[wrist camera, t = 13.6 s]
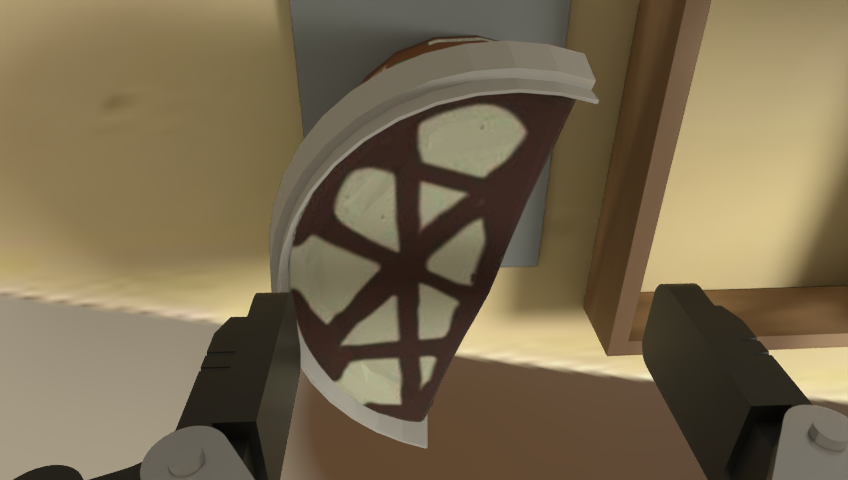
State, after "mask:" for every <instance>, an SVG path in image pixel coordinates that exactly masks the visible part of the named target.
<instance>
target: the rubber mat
mask: <svg viewBox="0 0 848 480" xmlns="http://www.w3.org/2000/svg"><path fill="white" fill-rule="evenodd" d="M570 7H571V0H290V10H291V19H292V28H293V38H294V47H295V57H296V66H297V75H298V85H299V94H300V103H301V113H302V122H303V131H304V139H305V137H306V136H307V135H308V134H309V132H310V131H311V130H312V129H313V127H314V126H315V125H316V124H317V122H318V121H319V120H320V119H321V117H322V116H323V115H324V114H326V113H327V112H328V111H329V110H330V109H331V108H332V107H334V106H335V105H336V104H337V103H338V102H339V101H340V100H341V99H343V98H344V97H345V96H346V95H347V94H348V93H349V92H351V91H352V90H353V89H355V88H357V87H358V86H360V85H361V83H362V82H363V80H364V78H365V77H366V76H367V75H369V74H370V73H371V72H372V71H373V70H375V69H376V68H377V67H378V66H379V65H381V64H382V63H383V62H384V61H386V60H387V59H388V58H389V57H390V56H392V55H393V54H394V53H395V52H397V51H400V50H403V49H405V48H408V47H410V46H413V45H416V44H418V43H421V42H423V41H426V40H429V39H431V38H434V37H451V36H473V35H477V36H481V37H485V38H489V39H493V40H497V41H517V42H529V43H540V44H549V45H553V46H557V47H561V48H565V46H566V38H567V30H568V22H569V15H570ZM551 156H552V151H551V153H550V155H549V158H548V160H547V162H546V164H545V166H544V168H543V170H542V172H541V174H540V177H539V179H538V181H537V183H536V185H535V187H534V189H533V191H532V193H531V196H530V198H529V200H528V202H527V204H526V206H525V209H524V211H523V213H522V216H521V218H520V220H519V223H518V225H517V227H516V229H515V232H514V234H513V236H512V239H511V241H510V243H509V246H508V248H507V250H506V253H505V255H504V258H503V260H502V263H501V265H500V267H532V266H537V265H538V258H539V250H540V242H541V234H542V226H543V218H544V210H545V203H546V195H547V187H548V179H549V171H550V163H551Z"/></svg>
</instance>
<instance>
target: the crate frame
mask: <svg viewBox="0 0 848 480" xmlns="http://www.w3.org/2000/svg"><path fill="white" fill-rule="evenodd" d="M710 4H711V0H640V4H639V10H638V15H637V20H636V26H635V31H634V37H633V42H632V47H631V53H630V58H629V64H628V69H627V74H626V80H625V85H624V91H623V96H622V101H621V107H620V112H619V118H618V123H617V129H616V134H615V139H614V145H613V150H612V156H611V161H610V166H609V172H608V177H607V183H606V188H605V193H604V199H603V204H602V210H601V215H600V220H599V226H598V231H597V237H596V242H595V247H594V253H593V258H592V264H591V269H590V275H589V280H588V285H587V291H586V296H585V302H584V307H583V308H584V310H585V312H586V314H587V316H588V318H589V320H590V322H591V324H592V326H593V328H594V330H595V332H596V334H597V337H598V339H599V341H600V343H601V345H602V347H603V349H604V351H605V353H606V355H607V356H621V355H643V352H642V339H643V334H644V331H645V327H646V323H647V319H648V315H649V312H650V308H651V304H652V300H653V296H654V293H655V292H645V293H640V291H641V287H642V282H643V278H644V274H645V270H646V266H647V262H648V258H649V254H650V250H651V246H652V242H653V237H654V233H655V229H656V225H657V221H658V217H659V213H660V209H661V205H662V201H663V196H664V192H665V188H666V184H667V180H668V176H669V172H670V168H671V164H672V160H673V155H674V151H675V147H676V143H677V139H678V135H679V131H680V127H681V123H682V119H683V115H684V110H685V106H686V102H687V98H688V94H689V90H690V86H691V82H692V78H693V74H694V69H695V65H696V61H697V57H698V53H699V49H700V45H701V41H702V37H703V33H704V29H705V24H706V20H707V16H708V12H709V8H710ZM704 293H705V294H706V295H707V296H708V298H709V299H710V300H711V302H712V303H713V304H714V305H715V306H719V305H721V306H723V307H724V308H726V309H727V310H729V311H730V312H732V313H733V314H734V315H736V316H737V317H739V318H740V319H742V320H743V321H744V322H745V323H746V325H747V326H748V327H749V328H750V329H751V331H752V332H753V333H754V334H755V336H756V337H757V341H760V342H761V343H762V344H763V345H764V346H765V348H766V349H767V350H777V349H802V348H828V347H848V286H829V287H799V288H768V289H737V290H707V291H704Z"/></svg>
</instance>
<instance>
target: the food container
mask: <svg viewBox="0 0 848 480" xmlns="http://www.w3.org/2000/svg"><path fill="white" fill-rule="evenodd" d="M595 82H596V79H595V77H594V75H593V72H592V70H591V67H590V65H589V63H588V60H587V58H586V56H585V53H581V52H577V51H573V50H569V49H565V48H561V47H557V46H553V45H549V44H540V43H529V42H517V41H497V40H493V39H489V38H485V37H481V36H477V35H473V36H451V37H434V38H431V39H429V40H426V41H423V42H421V43H418V44H416V45H413V46H410V47H408V48H405V49H403V50H400V51H397V52H395V53H394V54H393V55H392V56H390V57H389V58H388V59H387V60H386V61H384V62H383V63H382V64H381V65H379V66H378V67H377V68H376V69H375V70H373V71H372V72H371V73H370V74H369V75H367V76H366V77H365V78H364V80H363V82H362V83H361V85H360V86H358V87H357V88H355V89H353V90H352V91H351V92H349V93H348V94H347V95H346V96H345V97H344V98H343V99H341V100H340V101H339V102H338V103H337V104H336V105H335V106H334V107H332V108H331V109H330V110H329V111H328V112H327V113H326V114H324V115H323V116H322V117H321V119H320V120H319V121H318V122H317V124H316V125H315V126H314V127H313V129H312V130H311V131H310V132H309V134H308V135H307V136H306V137H305V139H304V140H303V141H302V142H301V144H300V145H299V147H298V149H297V150H296V152H295V154H294V156H293V158H292V160H291V161H290V163H289V165H288V167H287V169H286V170H285V172H284V174H283V177H282V180H281V183H280V186H279V189H278V192H277V195H276V198H275V201H274V204H273V210H272V218H271V225H270V233H269V246H270V269H271V289H272V293H281V292H291V293H292V295H293V299H294V305H295V312H296V320H297V327H298V334H299V341H300V350H301V366H300V367H301V368H302V370H303V371H304V373H305V374H306V376H307V377H308V378H309V380H310V381H311V383H312V384H313V385H314V386H315V387H316V388H317V389H318V390H319V391H320V392H321V393H322V394H323V395H324V396H325V397H326V398H327V399H328V400H329V401H330V402H331V403H332V404H333V405H335V406H336V407H337V408H339V409H340V410H341V411H343V412H344V413H345V414H347V415H348V416H349V417H351V418H352V419H354V420H355V421H357V422H359V423H361V424H363V425H364V426H366V427H368V428H370V429H372V430H373V431H375V432H377V433H381V434H383V435H385V436H388V437H390V438H393V439H395V440H398V441H401V442H404V443H408V444H411V445H415V446H419V447H422V448H427V413H428V410H429V409H430V408H431V406H432V405H433V401H434V397H435V395H436V392H437V390H438V387H439V385H440V383H441V381H442V379H443V377H444V375H445V373H446V371H447V369H448V367H449V365H450V363H451V361H452V358H453V357H454V355H455V353H456V351H457V349H458V347H459V345H460V344H461V342H462V340H463V338H464V336H465V334H466V333H467V331H468V329H469V328H470V326H471V324H472V322H473V321H474V319H475V317H476V315H477V314H478V312H479V310H480V308H481V306H482V305H483V303H484V301H485V299H486V297H487V296H488V294H489V292H490V289H491V287H492V284H493V282H494V280H495V277H496V275H497V273H498V270H499V268H500V265H501V263H502V260H503V258H504V255H505V253H506V250H507V248H508V246H509V243H510V241H511V239H512V236H513V234H514V232H515V229H516V227H517V225H518V223H519V220H520V218H521V216H522V213H523V211H524V209H525V206H526V204H527V202H528V200H529V198H530V196H531V193H532V191H533V189H534V187H535V185H536V183H537V181H538V179H539V177H540V174H541V172H542V170H543V168H544V166H545V164H546V162H547V160H548V158H549V155H550V153H551V151H552V149H553V147H554V145H555V143H556V141H557V139H558V136H559V134H560V132H561V130H562V128H563V126H564V124H565V122H566V120H567V117H568V115H569V113H570V111H571V109H572V107H573V105H574V103H575V101H576V99H577V100H581V101H586V102H590V103H594V104H598V102H599V99H598V98H597V97H596V96H595V94H594V93H593V92H592V91H591V90H592V88H593V86H594V84H595Z"/></svg>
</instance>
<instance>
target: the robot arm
mask: <svg viewBox="0 0 848 480" xmlns="http://www.w3.org/2000/svg"><path fill="white" fill-rule="evenodd" d="M642 352H643V358H644V361H645V364H646V366H647V368H648V370H649V372H650V374H651V376H652V377H653V379H654V381H655V383H656V385H657V387H658V389H659V390H660V392H661V394H662V396H663V398H664V399H665V401H666V403H667V405H668V407H669V409H670V411H671V412H672V414H673V416H674V418H675V420H676V422H677V424H678V425H679V427H680V429H681V431H682V433H683V435H684V437H685V438H686V440H687V442H688V444H689V446H690V448H691V450H692V451H693V453H694V455H695V457H696V459H697V461H698V463H699V464H700V466H701V468H702V470H703V472H704V474H705V475H706V477H707V479H708V480H848V417H846V416H844V415H842V414H840V413H838V412H836V411H833V410H831V409H827V408H824V407H820V406H815V405H812V404H811V402H810V401H809V400H808V399H807V397H806V396H805V395H804V394H803V393H802V391H801V390H800V389H799V388H798V386H797V385H796V384H795V383H794V382H793V380H792V379H791V378H790V377H789V376H788V374H787V373H786V372H785V371H784V370H783V368H782V367H781V366H780V365H779V363H778V362H777V361H776V360H775V359H774V357H773V356H772V355H769V351H768V350H767V349H766V348H765V346H764V345H763V344H762V343H761V342H760V341H757V337H756V336H755V334H754V333H753V332H752V331H751V329H750V328H749V327H748V326H747V325H746V323H745V322H744V321H743V320H742V319H740V318H739V317H737V316H736V315H734V314H733V313H732V312H730V311H729V310H727V309H726V308H724V307H723V306H721V305H719V306H715V305H714V304H713V303H712V302H711V300H710V299H709V298H708V296H707V295H706V294H705V293H704V291H703V290H702V289H701V288H700V287H699V286H698V285H697V284H695V283H690V284H661V285H659V286H658V287H657V288H656V290H655V293H654V296H653V300H652V304H651V308H650V312H649V315H648V319H647V323H646V327H645V331H644V334H643V339H642ZM300 366H301V350H300V341H299V334H298V327H297V320H296V312H295V305H294V299H293V295H292V293H291V292H281V293H256V294H255V296H254V299H253V301H252V304H251V307H250V310H249V313H248V316H247V317H230V318H229V319H228V320H227V321H226V322H225V323H224V324H223V325H222V326H221V327H220V328H219V329H218V330H217V331H216V332H215V333H214V336H213V338H212V341H211V343H210V346H209V348H208V351H207V356H205V358H204V361H203V363H202V366H201V371H199V373H198V376H197V378H196V381H195V383H194V386H193V388H192V391H191V393H190V396H189V398H188V401H187V403H186V406H185V408H184V411H183V413H182V416H181V418H180V421H179V423H178V426H177V428H176V430H175V431H174V432H172V433H170V434H168V435H167V436H165V437H163V438H162V439H161V440H159V441H158V442H157V443H156V444H155V445H154V446H153V447H152V448H151V449H150V450H149V451H148V453H147V454H146V456H145V457H144V459H143V462H141V463H139V464H137V465H134V466H132V467H129V468H126V469H123V470H120V471H117V472H114V473H110V474H107V475H103V476H100V477H97V478H93V479H90V480H280V477H281V471H282V466H283V461H284V455H285V450H286V445H287V439H288V434H289V428H290V423H291V418H292V412H293V408H294V402H295V397H296V392H297V386H298V381H299V375H300ZM14 480H83V478H82V476H81V475H80V473H79V472H78V471H77V470H75V469H74V468H71V467H68V466H63V465H51V466H44V467H41V468H37V469H34V470H32V471H29V472H27V473H25V474H23V475H21V476H19V477H17V478H15V479H14Z"/></svg>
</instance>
